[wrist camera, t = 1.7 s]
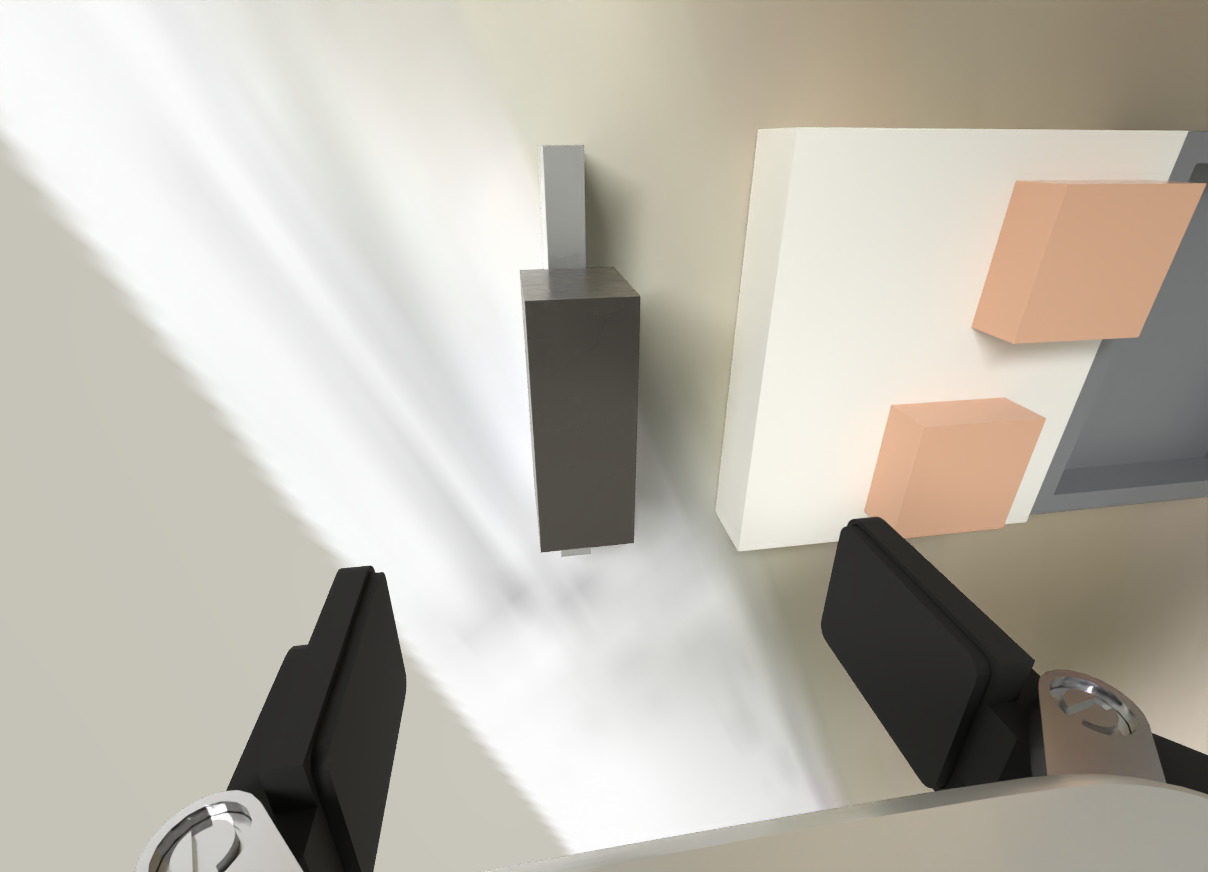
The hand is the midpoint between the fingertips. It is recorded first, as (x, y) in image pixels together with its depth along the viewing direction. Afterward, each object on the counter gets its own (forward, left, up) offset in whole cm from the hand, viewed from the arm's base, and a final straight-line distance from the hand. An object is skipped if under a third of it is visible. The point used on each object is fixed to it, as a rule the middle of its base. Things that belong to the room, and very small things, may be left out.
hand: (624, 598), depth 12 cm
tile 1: (+3, +15, -10) cm, 18 cm away
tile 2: (-5, +18, -10) cm, 21 cm away
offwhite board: (-1, +14, -13) cm, 19 cm away
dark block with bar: (-1, 0, -13) cm, 13 cm away
